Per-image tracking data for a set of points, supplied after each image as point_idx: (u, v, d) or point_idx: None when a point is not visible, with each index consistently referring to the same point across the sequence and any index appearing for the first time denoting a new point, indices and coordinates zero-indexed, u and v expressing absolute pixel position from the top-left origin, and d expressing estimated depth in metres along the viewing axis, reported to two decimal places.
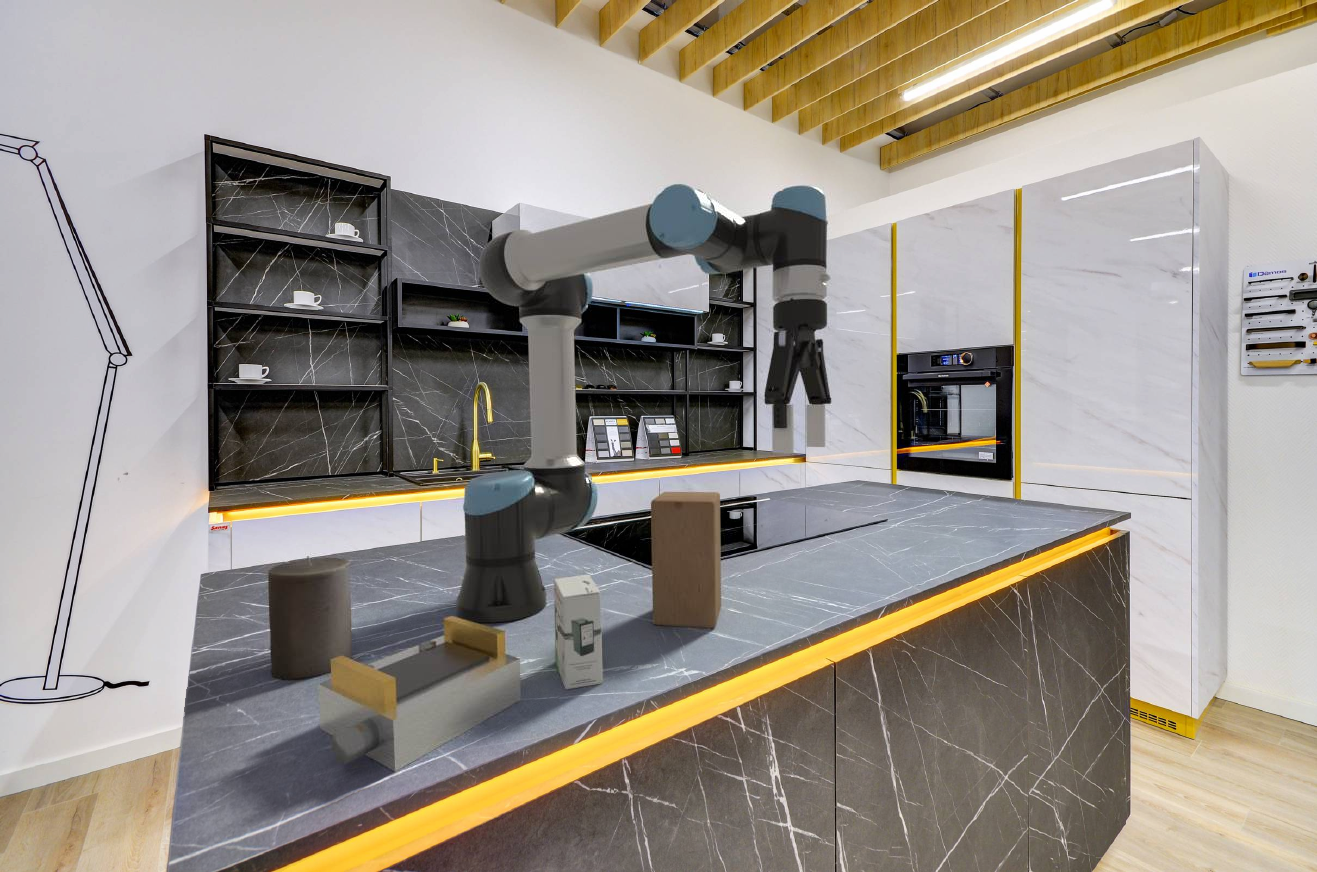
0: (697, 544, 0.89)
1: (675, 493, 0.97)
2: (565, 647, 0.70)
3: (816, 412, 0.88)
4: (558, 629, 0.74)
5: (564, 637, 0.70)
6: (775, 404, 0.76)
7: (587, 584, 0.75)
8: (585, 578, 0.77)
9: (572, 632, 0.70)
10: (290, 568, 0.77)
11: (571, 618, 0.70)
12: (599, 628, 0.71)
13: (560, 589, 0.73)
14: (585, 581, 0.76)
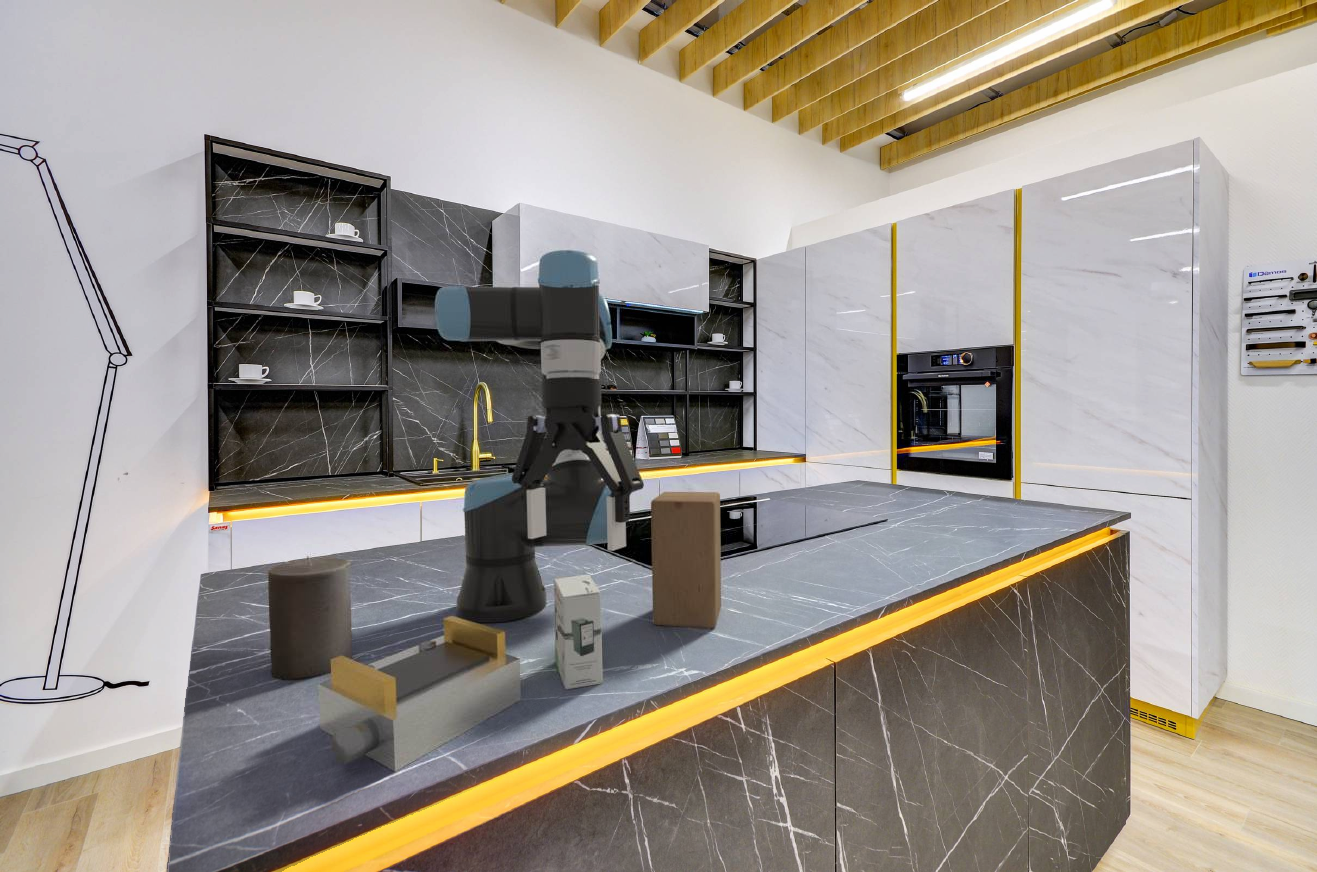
0: (697, 544, 0.89)
1: (675, 493, 0.97)
2: (565, 647, 0.70)
3: None
4: (558, 629, 0.74)
5: (564, 637, 0.70)
6: None
7: (587, 584, 0.75)
8: (585, 578, 0.77)
9: (572, 632, 0.70)
10: (290, 568, 0.77)
11: (571, 618, 0.70)
12: (599, 628, 0.71)
13: (560, 589, 0.73)
14: (585, 581, 0.76)
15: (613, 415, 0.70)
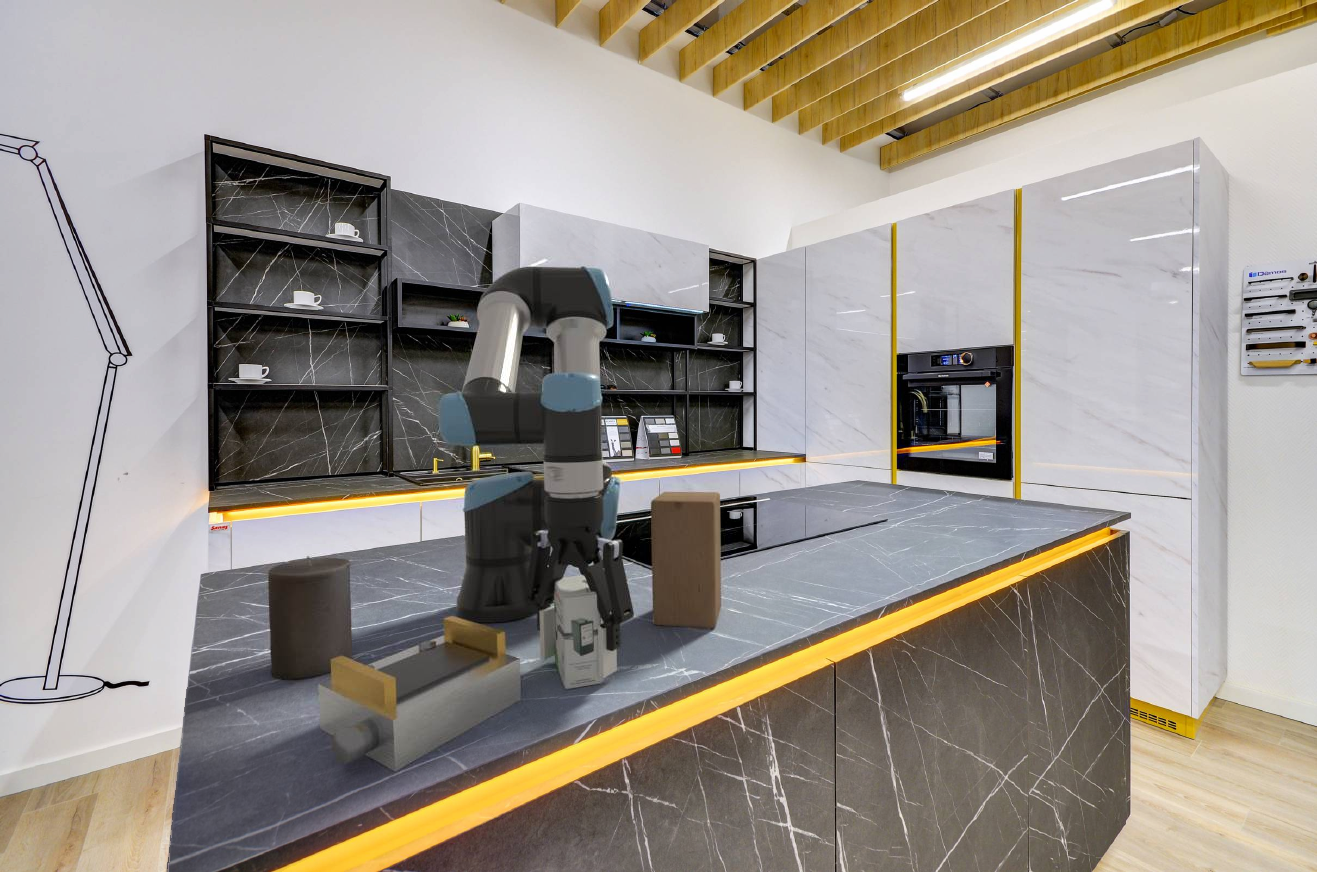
0: (697, 544, 0.89)
1: (675, 493, 0.97)
2: (565, 647, 0.70)
3: None
4: (558, 629, 0.74)
5: (564, 637, 0.70)
6: None
7: (587, 584, 0.75)
8: None
9: (571, 632, 0.70)
10: (290, 568, 0.77)
11: (571, 617, 0.70)
12: None
13: (560, 589, 0.73)
14: (585, 581, 0.76)
15: (616, 543, 0.71)
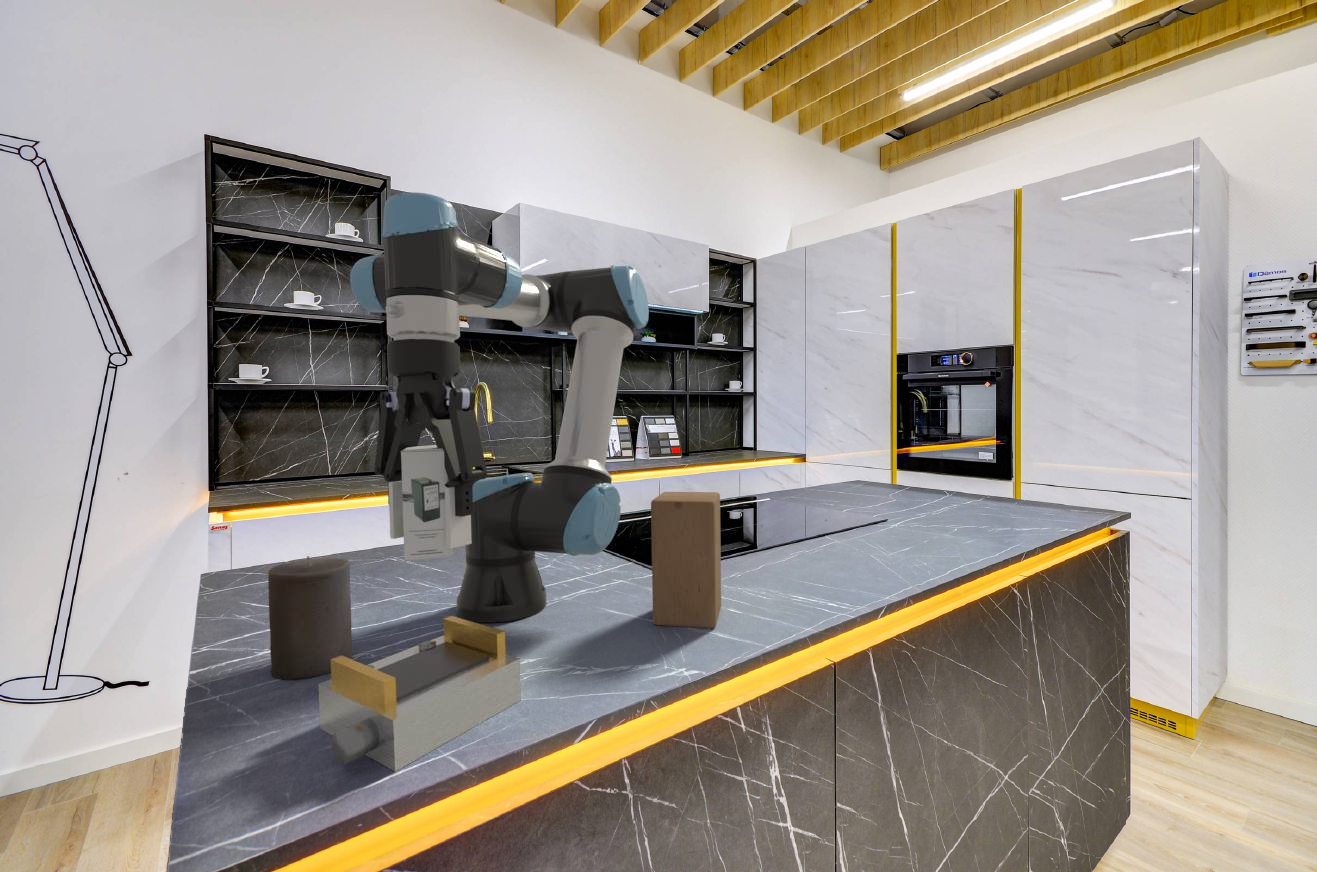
0: (697, 544, 0.89)
1: (675, 493, 0.97)
2: (404, 510, 0.60)
3: None
4: None
5: (403, 499, 0.60)
6: None
7: None
8: None
9: (412, 493, 0.60)
10: (290, 568, 0.77)
11: (411, 476, 0.60)
12: None
13: (404, 449, 0.63)
14: None
15: (466, 390, 0.61)
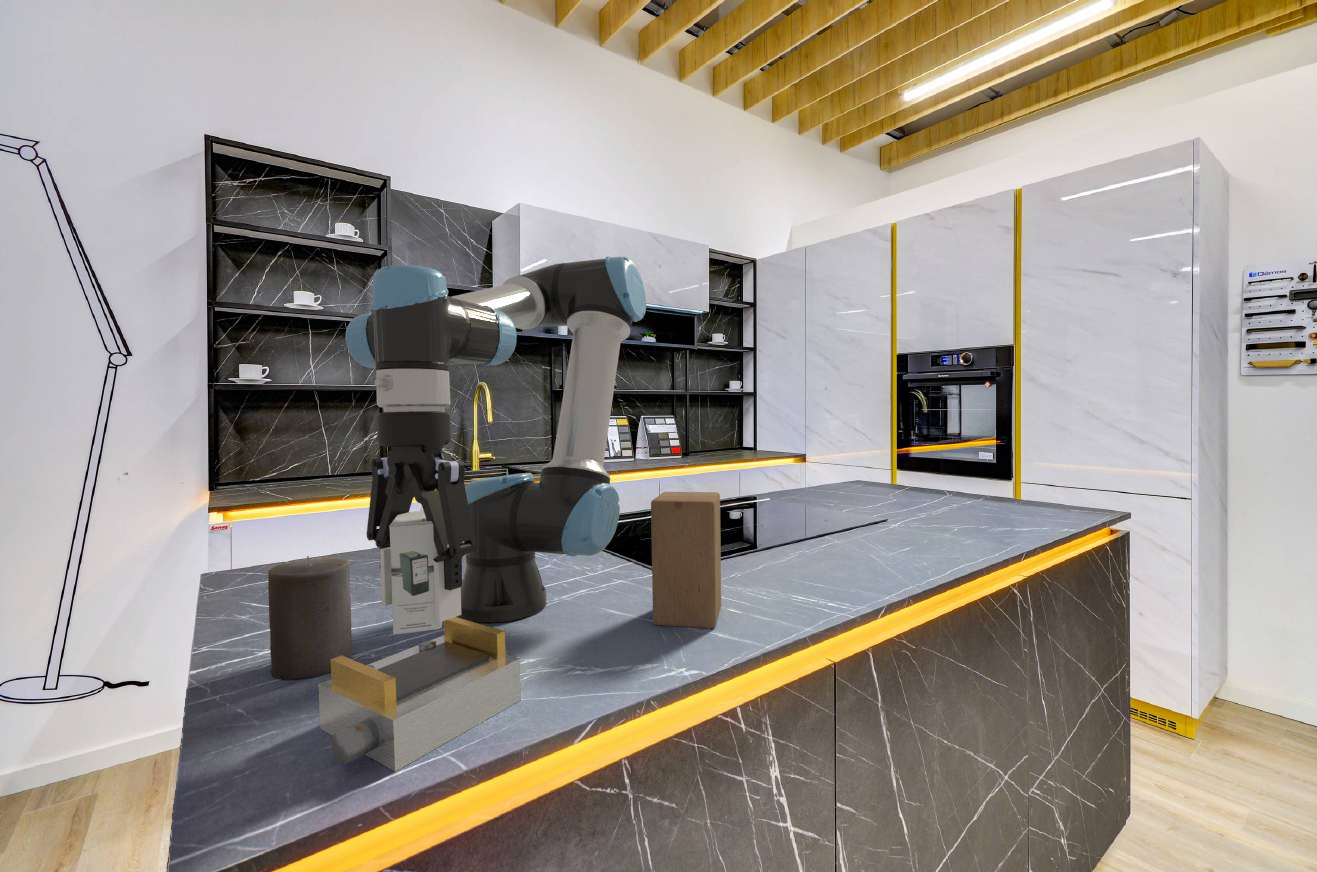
0: (697, 544, 0.89)
1: (675, 493, 0.97)
2: (392, 585, 0.60)
3: None
4: None
5: (391, 573, 0.60)
6: None
7: None
8: None
9: (400, 568, 0.60)
10: (290, 568, 0.77)
11: (400, 550, 0.60)
12: None
13: (394, 520, 0.63)
14: None
15: (454, 463, 0.61)
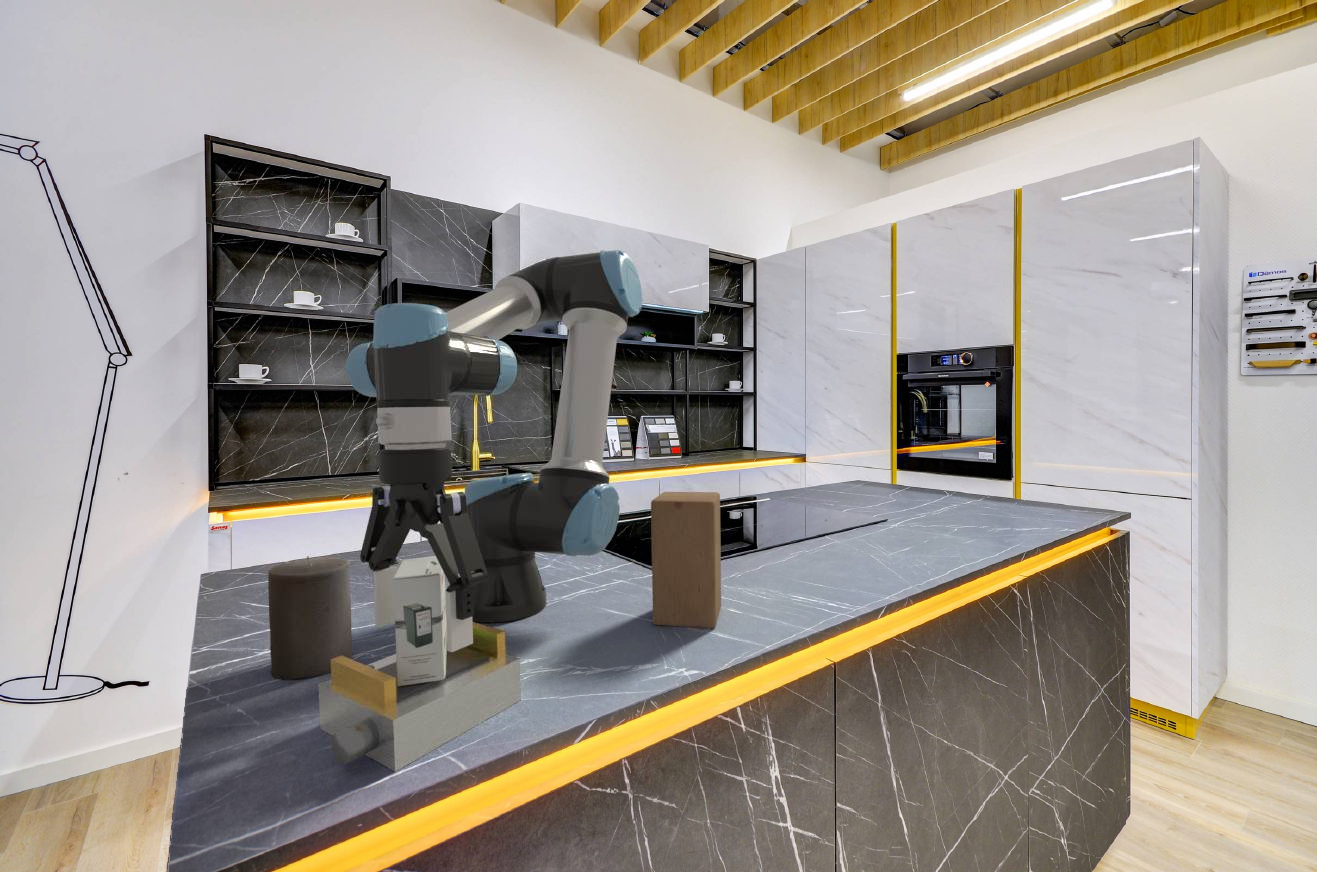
0: (697, 544, 0.89)
1: (675, 493, 0.97)
2: (396, 637, 0.60)
3: None
4: None
5: (395, 625, 0.60)
6: None
7: (434, 565, 0.65)
8: None
9: (404, 620, 0.60)
10: (290, 568, 0.77)
11: (403, 603, 0.60)
12: (439, 615, 0.61)
13: (398, 570, 0.63)
14: (434, 562, 0.66)
15: (455, 494, 0.61)
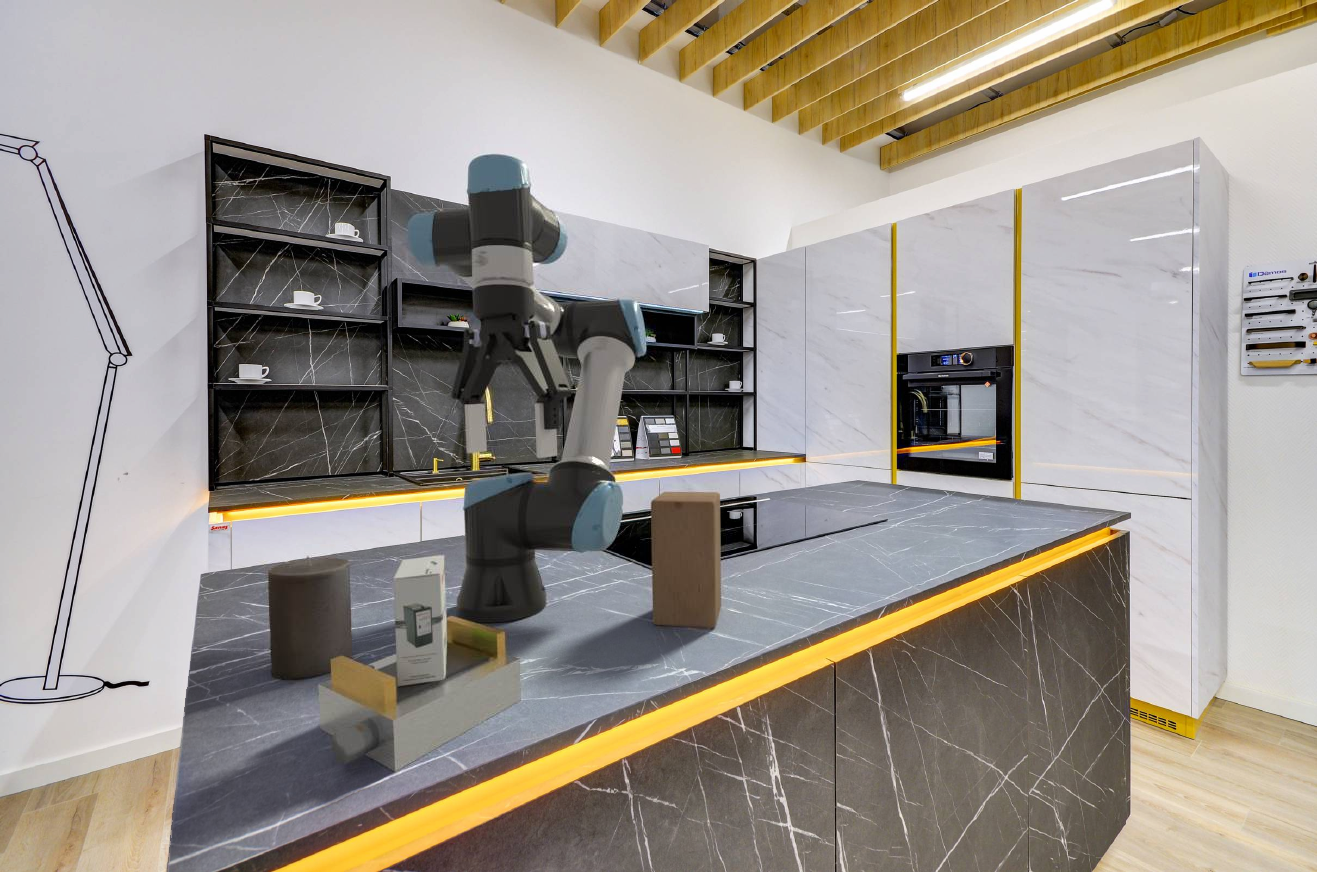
0: (697, 544, 0.89)
1: (675, 493, 0.97)
2: (396, 637, 0.60)
3: None
4: None
5: (395, 625, 0.60)
6: None
7: (434, 565, 0.65)
8: (437, 558, 0.67)
9: (404, 620, 0.60)
10: (290, 568, 0.77)
11: (403, 603, 0.60)
12: (439, 615, 0.61)
13: (398, 570, 0.63)
14: (434, 562, 0.66)
15: (541, 322, 0.69)
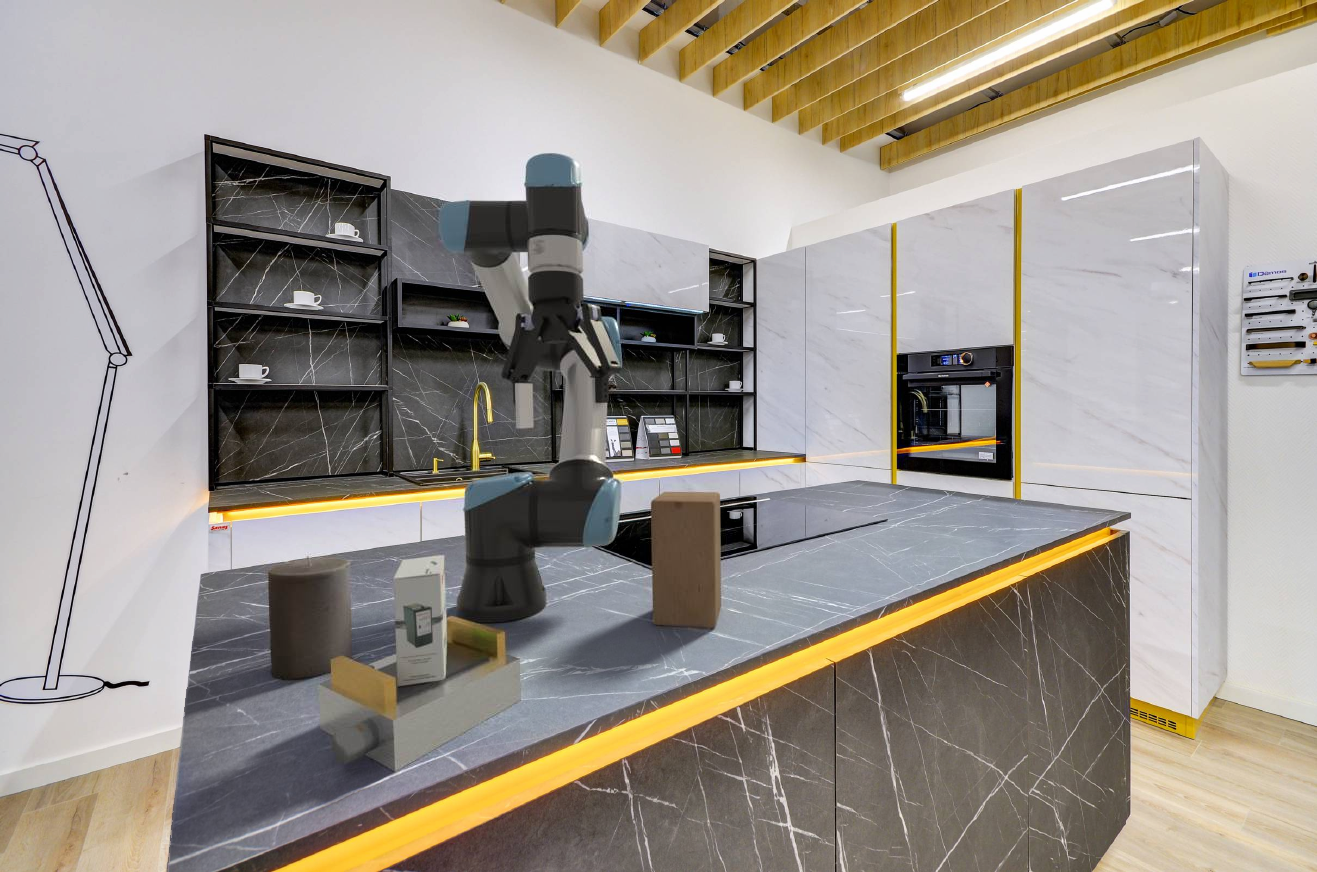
0: (697, 544, 0.89)
1: (675, 493, 0.97)
2: (396, 637, 0.60)
3: None
4: None
5: (395, 625, 0.60)
6: None
7: (434, 565, 0.65)
8: (437, 558, 0.67)
9: (404, 620, 0.60)
10: (290, 568, 0.77)
11: (403, 603, 0.60)
12: (439, 615, 0.61)
13: (398, 570, 0.63)
14: (434, 562, 0.66)
15: (593, 305, 0.76)
